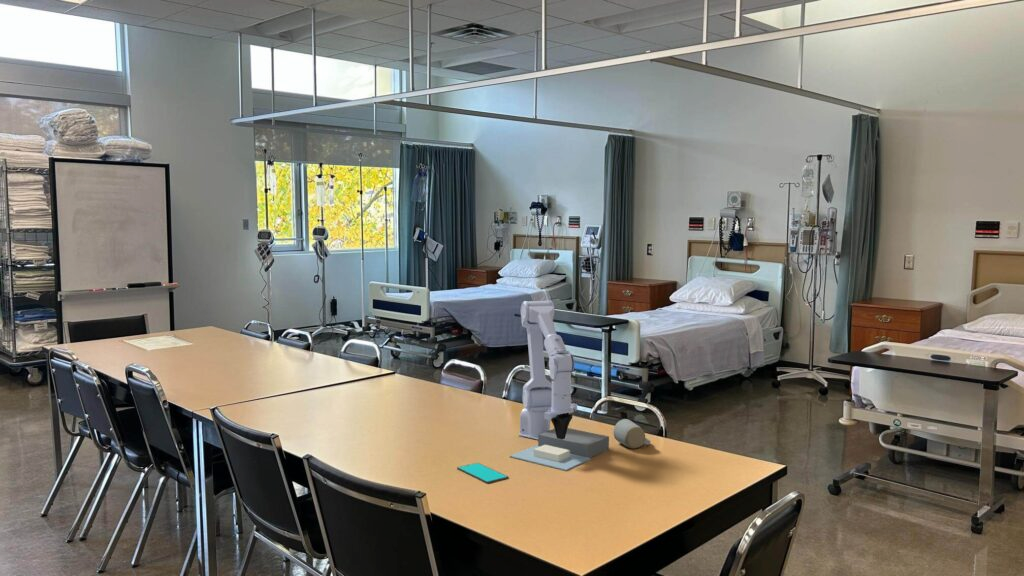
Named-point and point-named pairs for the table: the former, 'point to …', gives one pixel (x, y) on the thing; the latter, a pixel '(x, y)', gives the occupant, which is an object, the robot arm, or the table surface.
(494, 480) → the smartphone
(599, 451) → the plate
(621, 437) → the ceramic mug
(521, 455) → the mat
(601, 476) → the table surface
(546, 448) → the cream rectangular block
